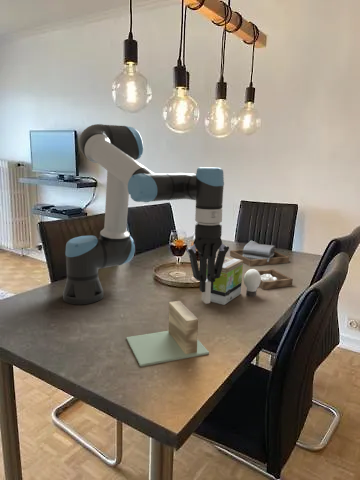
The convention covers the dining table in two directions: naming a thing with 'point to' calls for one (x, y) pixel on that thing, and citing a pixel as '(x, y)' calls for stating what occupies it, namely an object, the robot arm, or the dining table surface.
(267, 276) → the rose
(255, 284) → the light bulb
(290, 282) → the rose frame
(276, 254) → the frame
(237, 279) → the tea box
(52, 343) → the dining table surface
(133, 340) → the mat
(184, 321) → the tan rectangular box
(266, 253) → the towel
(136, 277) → the dining table surface
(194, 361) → the dining table surface
